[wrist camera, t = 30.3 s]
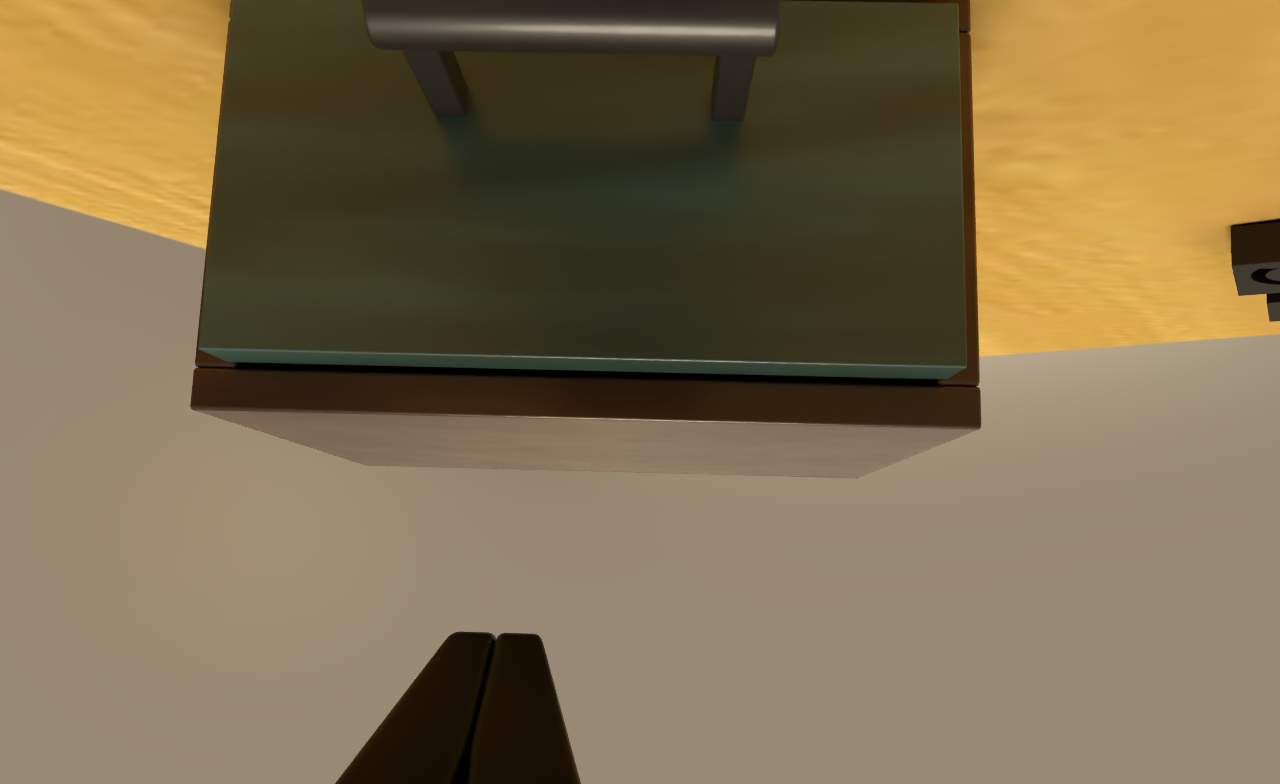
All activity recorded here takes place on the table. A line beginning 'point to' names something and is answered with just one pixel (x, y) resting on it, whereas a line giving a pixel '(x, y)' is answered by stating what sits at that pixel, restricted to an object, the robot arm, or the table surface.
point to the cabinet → (614, 402)
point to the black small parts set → (1258, 263)
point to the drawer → (591, 189)
